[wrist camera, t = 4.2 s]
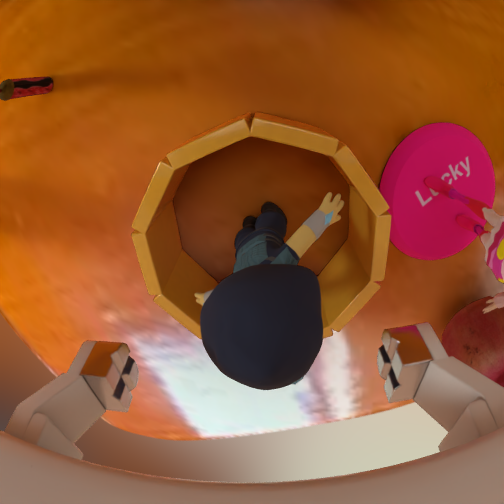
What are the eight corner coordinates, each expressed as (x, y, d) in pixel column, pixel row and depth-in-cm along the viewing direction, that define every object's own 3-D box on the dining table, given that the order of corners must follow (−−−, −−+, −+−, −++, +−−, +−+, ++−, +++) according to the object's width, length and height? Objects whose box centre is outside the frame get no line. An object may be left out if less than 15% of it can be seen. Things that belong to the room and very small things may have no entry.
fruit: (424, 296, 21) (480, 396, 13) (501, 264, 20) (568, 341, 11) (424, 359, 25) (459, 446, 16) (491, 329, 23) (536, 403, 14)
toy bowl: (360, 108, 15) (395, 115, 11) (354, 295, 21) (372, 344, 17) (147, 126, 16) (109, 140, 12) (185, 305, 22) (169, 355, 18)
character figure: (230, 280, 21) (204, 444, 11) (186, 238, 20) (117, 394, 9) (343, 197, 18) (431, 338, 7) (301, 143, 17) (366, 235, 6)
